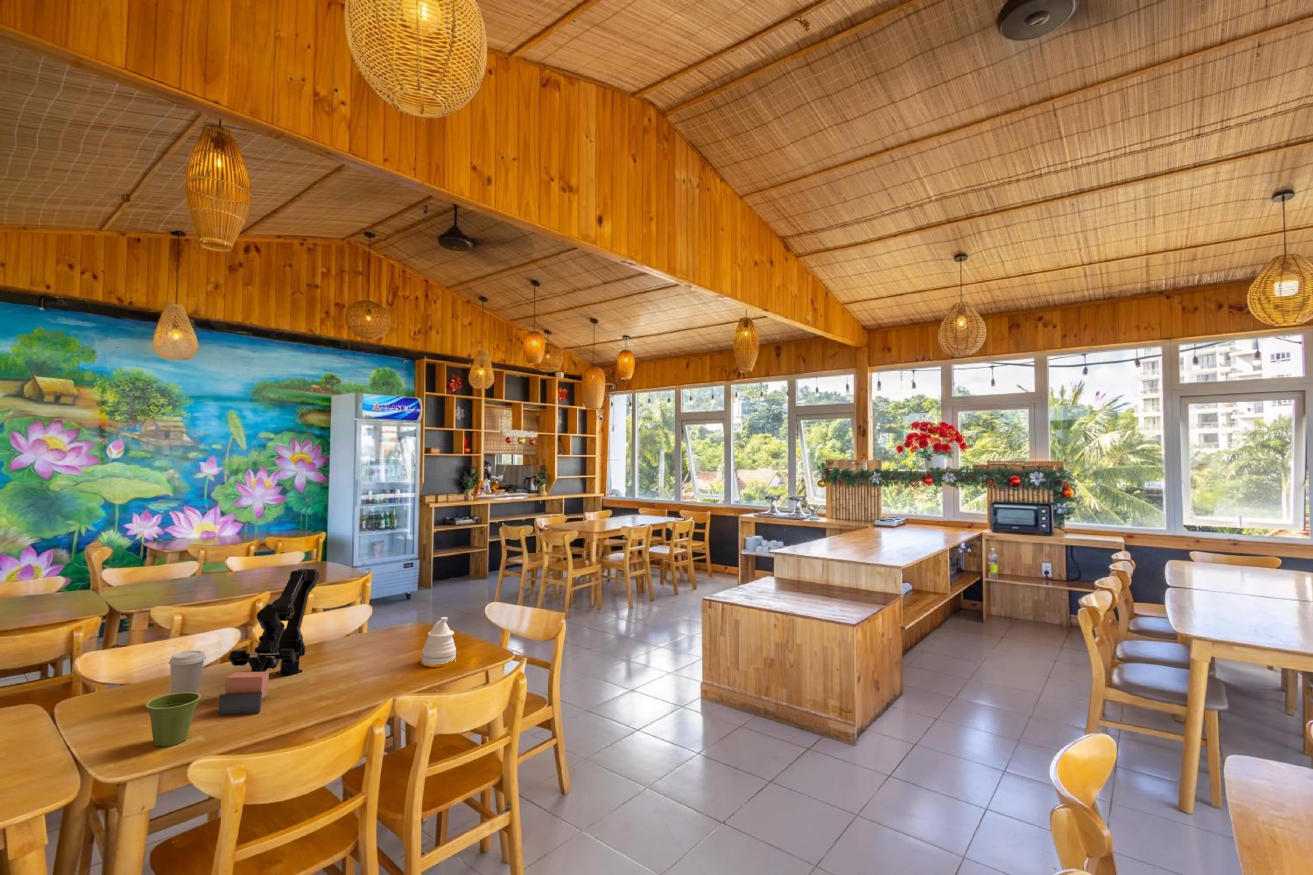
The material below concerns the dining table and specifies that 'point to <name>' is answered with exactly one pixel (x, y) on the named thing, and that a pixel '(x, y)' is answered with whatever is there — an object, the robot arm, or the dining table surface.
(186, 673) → the coffee cup
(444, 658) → the honey pot
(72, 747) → the dining table surface
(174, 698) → the plant pot
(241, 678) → the reddish brown stepped block
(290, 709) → the dining table surface
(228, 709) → the dark grey block
